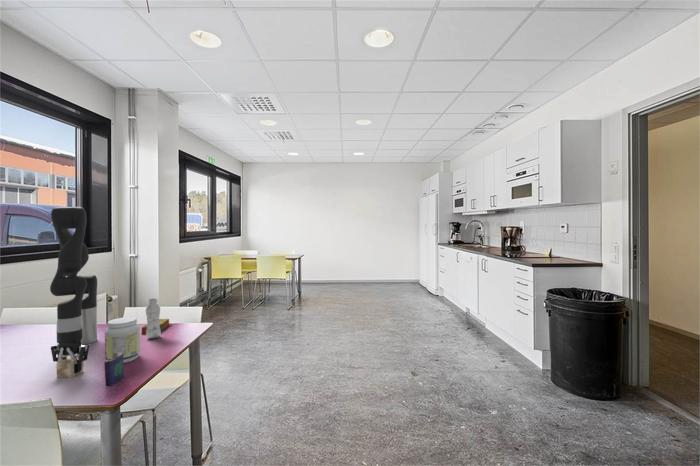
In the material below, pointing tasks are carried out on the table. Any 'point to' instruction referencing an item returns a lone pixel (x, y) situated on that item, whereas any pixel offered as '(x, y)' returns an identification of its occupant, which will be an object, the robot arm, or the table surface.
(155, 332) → the plastic bottle
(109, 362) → the flask
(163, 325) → the carton
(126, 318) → the supplement tub
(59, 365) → the beech cube
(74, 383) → the table surface
